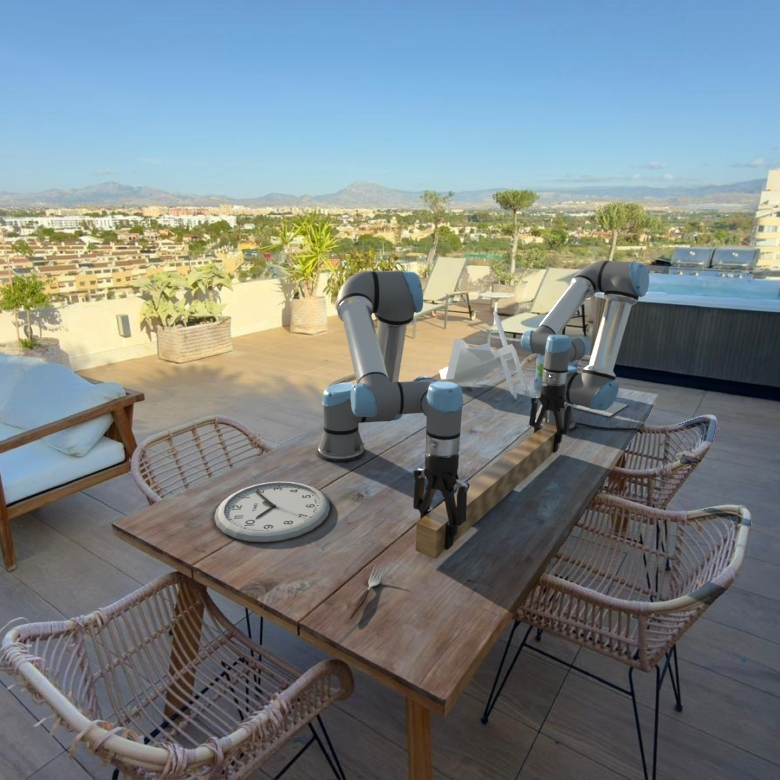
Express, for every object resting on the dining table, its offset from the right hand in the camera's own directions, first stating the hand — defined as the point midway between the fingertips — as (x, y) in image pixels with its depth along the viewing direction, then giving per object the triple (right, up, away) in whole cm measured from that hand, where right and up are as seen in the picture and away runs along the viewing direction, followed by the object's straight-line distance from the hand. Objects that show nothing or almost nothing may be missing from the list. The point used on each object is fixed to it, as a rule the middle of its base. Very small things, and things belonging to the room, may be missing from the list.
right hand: (546, 448), depth 176 cm
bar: (-21, -9, -26) cm, 35 cm away
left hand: (-42, -16, -53) cm, 69 cm away
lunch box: (+25, +20, +72) cm, 79 cm away
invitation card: (+39, +12, +50) cm, 65 cm away
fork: (-58, -23, -68) cm, 92 cm away
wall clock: (-84, -12, -36) cm, 92 cm away
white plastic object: (-11, +19, +67) cm, 71 cm away
